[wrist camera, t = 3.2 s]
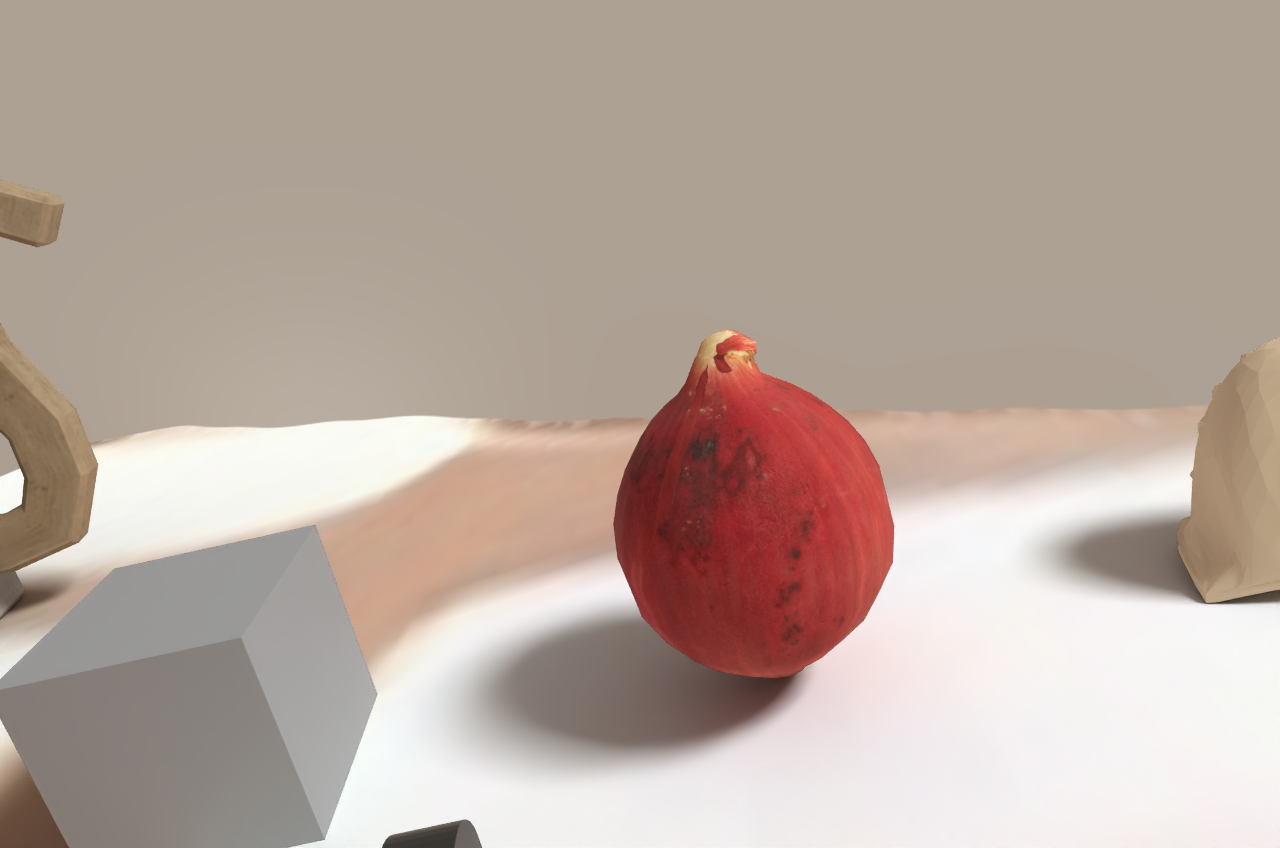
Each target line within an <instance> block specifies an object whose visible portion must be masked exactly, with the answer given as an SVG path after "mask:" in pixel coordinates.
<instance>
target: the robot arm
mask: <svg viewBox="0 0 1280 848" xmlns="http://www.w3.org/2000/svg"><path fill="white" fill-rule="evenodd" d="M382 848H482V846H481V843H480V840H479V838H478V835H477V832H476V830H475V828H474V826H473V825H472V823H471V822H470V821H468V820H460V821H455V822H451V823H446V824H441V825H437V826H432V827H427V828H423V829H418V830H413V831H409V832H404V833H399V834H395V835H391V836H389V837H388V838H387V839H386V841H385V842H384V844H383V847H382Z"/></svg>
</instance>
